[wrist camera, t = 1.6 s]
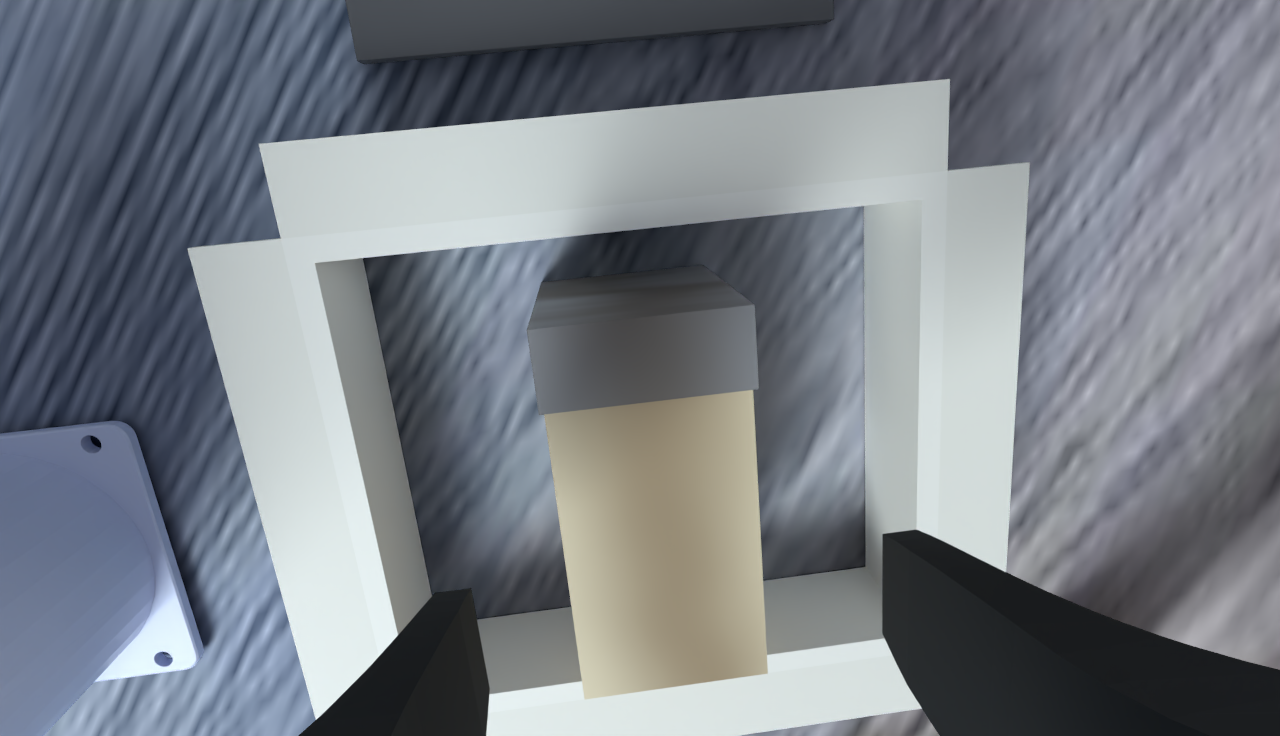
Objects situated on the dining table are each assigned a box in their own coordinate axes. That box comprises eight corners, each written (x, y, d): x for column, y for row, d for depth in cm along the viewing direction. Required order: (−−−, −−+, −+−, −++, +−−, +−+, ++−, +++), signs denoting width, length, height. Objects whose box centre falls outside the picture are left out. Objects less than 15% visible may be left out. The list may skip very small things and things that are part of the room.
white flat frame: (371, 703, 23) (336, 794, 20) (237, 155, 18) (161, 153, 15) (939, 623, 24) (998, 696, 21) (955, 87, 19) (1035, 70, 16)
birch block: (579, 562, 22) (580, 702, 17) (541, 281, 20) (526, 330, 14) (722, 544, 23) (772, 675, 17) (702, 264, 20) (754, 304, 14)
